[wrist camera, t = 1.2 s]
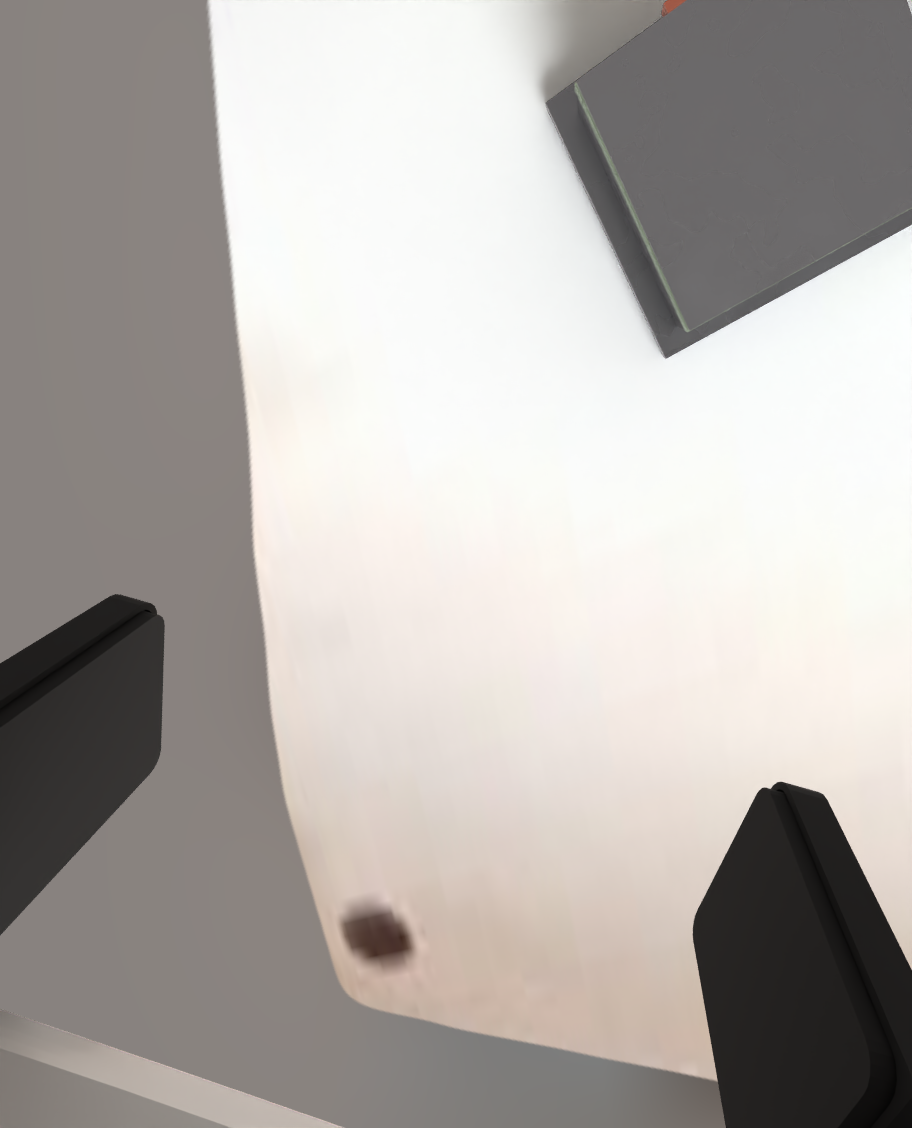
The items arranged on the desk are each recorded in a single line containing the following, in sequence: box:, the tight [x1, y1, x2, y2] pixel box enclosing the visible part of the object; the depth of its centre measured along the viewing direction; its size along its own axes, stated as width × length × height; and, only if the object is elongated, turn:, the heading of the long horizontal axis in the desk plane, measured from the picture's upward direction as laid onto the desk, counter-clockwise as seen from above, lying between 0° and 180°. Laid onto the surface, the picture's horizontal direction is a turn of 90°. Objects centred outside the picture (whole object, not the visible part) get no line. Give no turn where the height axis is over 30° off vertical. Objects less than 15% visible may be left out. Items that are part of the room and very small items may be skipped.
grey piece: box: [546, 0, 912, 358], centre depth 26 cm, size 12×12×5 cm
